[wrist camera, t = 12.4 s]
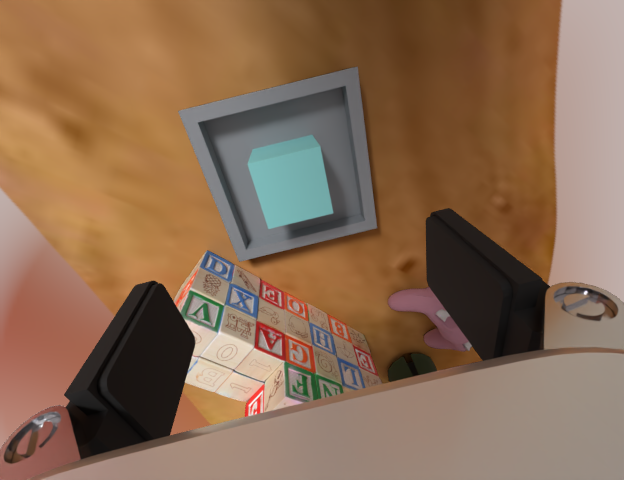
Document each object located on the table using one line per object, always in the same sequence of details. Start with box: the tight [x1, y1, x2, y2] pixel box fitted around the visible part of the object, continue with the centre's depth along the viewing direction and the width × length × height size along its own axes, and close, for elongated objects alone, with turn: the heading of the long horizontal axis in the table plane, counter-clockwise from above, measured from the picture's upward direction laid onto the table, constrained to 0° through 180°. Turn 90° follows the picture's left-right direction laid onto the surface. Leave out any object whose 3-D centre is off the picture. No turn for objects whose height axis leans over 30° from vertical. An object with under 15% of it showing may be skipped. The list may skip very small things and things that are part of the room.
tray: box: [178, 67, 377, 262], centre depth 25 cm, size 13×13×2 cm
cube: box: [248, 135, 333, 229], centre depth 23 cm, size 5×5×5 cm
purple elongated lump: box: [388, 287, 472, 351], centre depth 32 cm, size 10×5×7 cm, turn 40°
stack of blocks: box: [174, 251, 382, 417], centre depth 28 cm, size 21×6×12 cm, turn 52°
